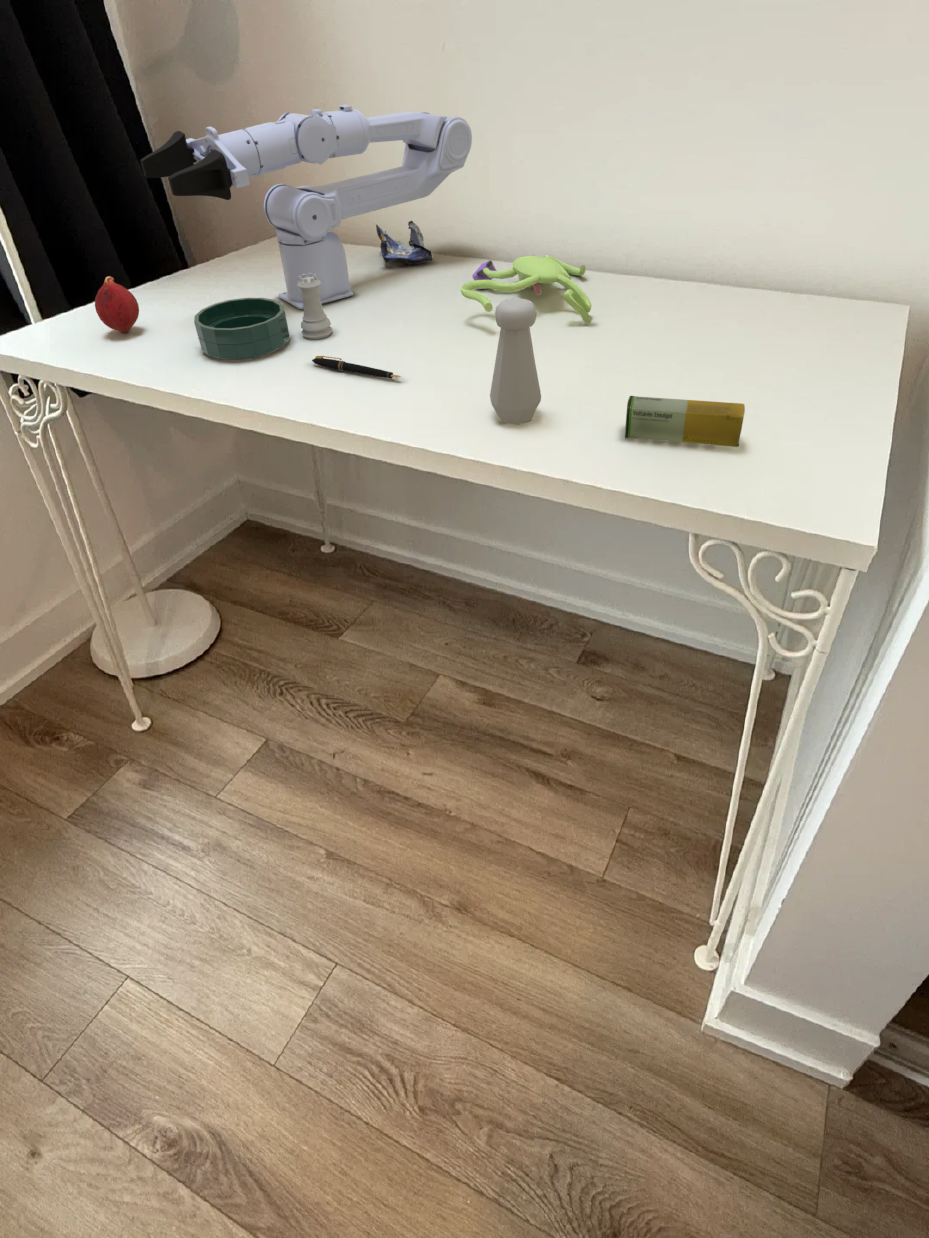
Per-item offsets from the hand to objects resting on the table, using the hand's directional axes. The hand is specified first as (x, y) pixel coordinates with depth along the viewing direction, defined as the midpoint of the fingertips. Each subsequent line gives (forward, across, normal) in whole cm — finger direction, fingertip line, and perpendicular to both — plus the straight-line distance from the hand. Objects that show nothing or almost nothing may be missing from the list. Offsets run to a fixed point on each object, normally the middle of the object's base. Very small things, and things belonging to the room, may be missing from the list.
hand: (157, 177), depth 102 cm
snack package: (-41, -2, +23) cm, 47 cm away
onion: (+9, -6, +21) cm, 24 cm away
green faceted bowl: (-2, +12, +19) cm, 23 cm away
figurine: (-40, +30, +18) cm, 54 cm away
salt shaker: (-13, +55, +13) cm, 58 cm away
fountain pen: (-7, +32, +16) cm, 36 cm away
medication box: (-21, +72, +11) cm, 76 cm away
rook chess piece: (-11, +17, +19) cm, 27 cm away
